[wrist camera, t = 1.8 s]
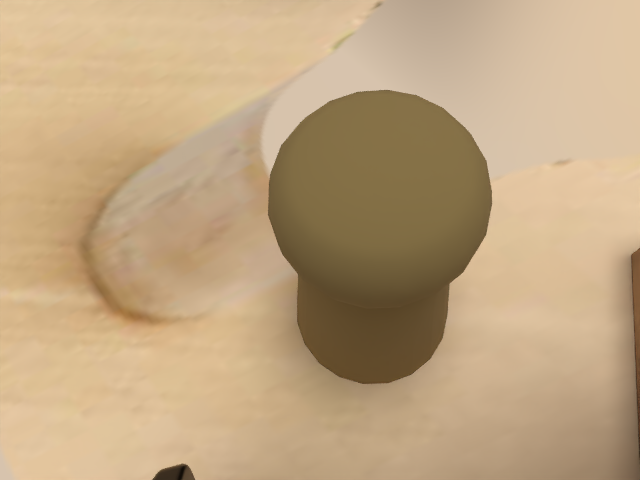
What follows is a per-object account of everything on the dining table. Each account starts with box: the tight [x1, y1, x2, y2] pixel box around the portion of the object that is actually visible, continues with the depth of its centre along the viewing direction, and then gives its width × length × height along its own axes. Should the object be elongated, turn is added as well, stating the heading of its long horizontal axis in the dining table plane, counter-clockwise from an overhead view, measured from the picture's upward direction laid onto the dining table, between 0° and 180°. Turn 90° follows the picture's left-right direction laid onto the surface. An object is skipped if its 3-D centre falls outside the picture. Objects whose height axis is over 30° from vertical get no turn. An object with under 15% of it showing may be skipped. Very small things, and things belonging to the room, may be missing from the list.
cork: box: [268, 90, 492, 384], centre depth 16 cm, size 6×6×11 cm
